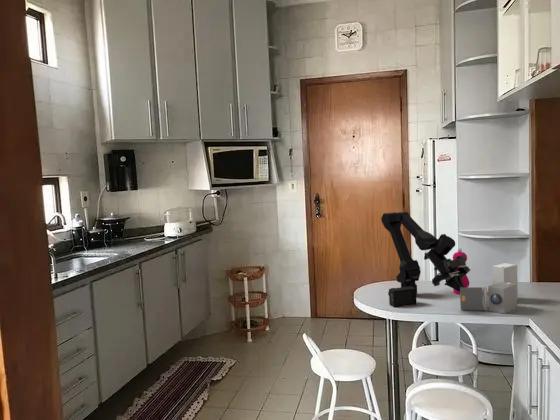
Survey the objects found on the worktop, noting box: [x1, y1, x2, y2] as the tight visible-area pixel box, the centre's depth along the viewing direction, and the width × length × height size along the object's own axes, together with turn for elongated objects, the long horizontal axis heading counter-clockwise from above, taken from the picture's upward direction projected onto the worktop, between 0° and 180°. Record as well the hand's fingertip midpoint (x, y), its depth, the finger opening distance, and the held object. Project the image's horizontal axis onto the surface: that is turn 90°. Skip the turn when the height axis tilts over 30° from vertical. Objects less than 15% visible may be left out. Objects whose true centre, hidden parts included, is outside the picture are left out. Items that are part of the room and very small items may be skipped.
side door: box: [459, 286, 488, 311], centre depth 178 cm, size 10×2×9 cm, turn 75°
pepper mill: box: [452, 248, 470, 295], centre depth 205 cm, size 7×7×20 cm
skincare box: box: [491, 262, 519, 300], centre depth 189 cm, size 8×6×15 cm
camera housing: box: [487, 282, 518, 315], centre depth 177 cm, size 6×11×10 cm, turn 126°
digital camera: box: [387, 286, 418, 308], centre depth 192 cm, size 10×5×7 cm, turn 104°
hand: (464, 293), depth 180 cm, fingers closed
